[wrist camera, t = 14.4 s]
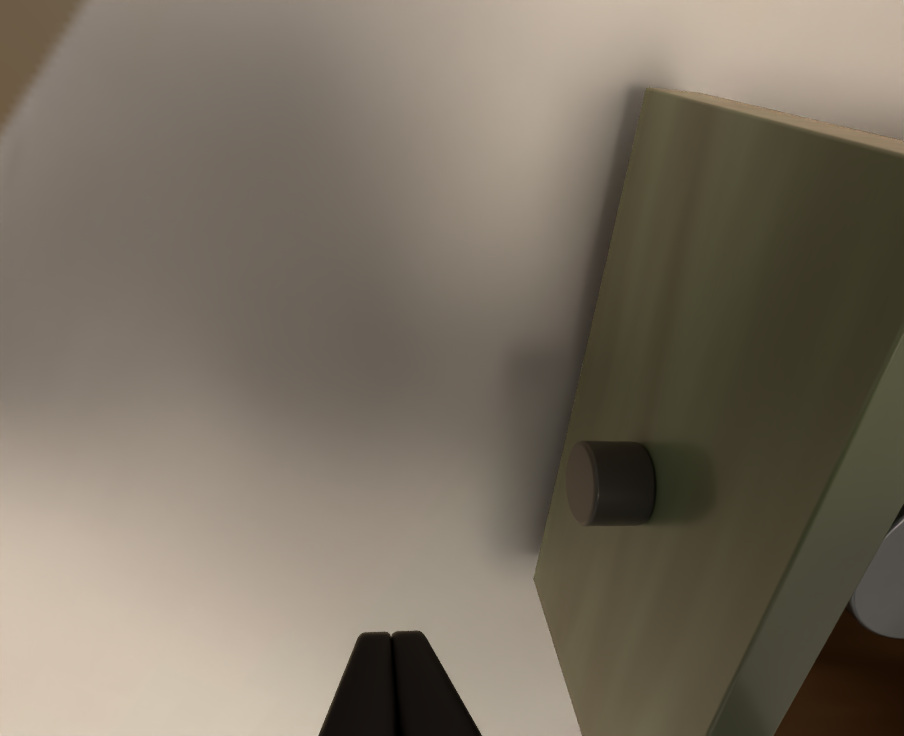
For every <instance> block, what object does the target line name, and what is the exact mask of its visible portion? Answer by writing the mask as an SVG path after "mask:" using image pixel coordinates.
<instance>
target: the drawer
mask: <svg viewBox="0 0 904 736" xmlns="http://www.w3.org/2000/svg"><path fill="white" fill-rule="evenodd" d="M903 504H904V141H902V140H898V139H894V138H889V137H885V136H881V135H877V134H872V133H868V132H864V131H860V130H855V129H851V128H847V127H843V126H838V125H834V124H830V123H826V122H821V121H817V120H813V119H809V118H804V117H800V116H796V115H792V114H787V113H783V112H779V111H775V110H770V109H766V108H762V107H758V106H753V105H749V104H745V103H741V102H736V101H732V100H728V99H724V98H719V97H715V96H711V95H707V94H702V93H696V92H687V91H678V90H669V89H660V88H650V87H649V88H646V90H645V95H644V99H643V103H642V108H641V112H640V116H639V121H638V125H637V129H636V134H635V138H634V142H633V147H632V151H631V156H630V160H629V164H628V169H627V173H626V177H625V182H624V186H623V190H622V195H621V199H620V204H619V208H618V212H617V217H616V221H615V225H614V230H613V234H612V238H611V243H610V247H609V252H608V256H607V260H606V265H605V269H604V273H603V278H602V282H601V286H600V291H599V295H598V300H597V304H596V308H595V313H594V317H593V321H592V326H591V330H590V334H589V339H588V343H587V347H586V352H585V356H584V361H583V365H582V369H581V374H580V378H579V382H578V387H577V391H576V395H575V400H574V404H573V409H572V413H571V417H570V422H569V426H568V430H567V435H566V439H565V443H564V448H563V452H562V457H561V461H560V465H559V470H558V474H557V478H556V483H555V487H554V491H553V496H552V500H551V505H550V509H549V513H548V518H547V522H546V526H545V531H544V535H543V539H542V544H541V548H540V552H539V557H538V561H537V566H536V570H535V574H534V583H535V586H536V589H537V592H538V595H539V599H540V602H541V605H542V608H543V611H544V615H545V618H546V621H547V624H548V627H549V631H550V634H551V637H552V640H553V644H554V647H555V650H556V653H557V656H558V660H559V663H560V666H561V669H562V672H563V676H564V679H565V682H566V685H567V688H568V692H569V695H570V698H571V701H572V705H573V708H574V711H575V714H576V717H577V721H578V724H579V727H580V730H581V733H582V736H904V639H894V638H887V637H884V636H880V635H877V634H875V633H873V632H871V631H869V630H867V629H866V628H864V627H863V626H861V625H860V624H859V623H858V622H857V621H856V620H855V619H854V617H853V616H852V615H851V614H850V613H849V611H848V610H847V609H846V608H845V607H846V606H847V604H848V602H849V600H850V599H851V597H852V595H853V593H854V591H855V590H856V588H857V586H858V584H859V583H860V581H861V579H862V577H863V575H864V574H865V572H866V570H867V568H868V567H869V565H870V563H871V561H872V559H873V558H874V556H875V554H876V552H877V551H878V549H879V547H880V545H881V543H882V542H883V540H884V538H885V536H886V535H887V533H888V531H889V529H890V527H891V526H892V524H893V522H894V520H895V519H896V517H897V515H898V513H899V511H900V510H901V508H902V506H903Z"/></svg>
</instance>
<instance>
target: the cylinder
mask: <svg viewBox="0 0 904 736" xmlns="http://www.w3.org/2000/svg"><path fill="white" fill-rule="evenodd" d="M845 608H846V609H847V610H848V611H849V613H850V614H851V615H852V616H853V617H854V619H855V620H856V621H857V622H858V623H859V624H860V625H861V626H863V627H864V628H866V629H867V630H869V631H871V632H873V633H875V634H877V635H880V636H884V637H887V638H894V639H904V504H903V506H902V508H901V510H900V511H899V513H898V515H897V517H896V519H895V520H894V522H893V524H892V526H891V527H890V529H889V531H888V533H887V535H886V536H885V538H884V540H883V542H882V543H881V545H880V547H879V549H878V551H877V552H876V554H875V556H874V558H873V559H872V561H871V563H870V565H869V567H868V568H867V570H866V572H865V574H864V575H863V577H862V579H861V581H860V583H859V584H858V586H857V588H856V590H855V591H854V593H853V595H852V597H851V599H850V600H849V602H848V604H847V606H846V607H845Z"/></svg>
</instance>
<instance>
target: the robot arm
mask: <svg viewBox="0 0 904 736" xmlns="http://www.w3.org/2000/svg"><path fill="white" fill-rule="evenodd" d="M319 736H482V735H481V733H480V731H479V729H478V728H477V726H476V724H475V722H474V721H473V719H472V717H471V715H470V714H469V712H468V710H467V708H466V707H465V705H464V703H463V701H462V700H461V698H460V696H459V694H458V693H457V691H456V689H455V687H454V686H453V684H452V682H451V680H450V678H449V677H448V675H447V673H446V671H445V670H444V668H443V666H442V664H441V663H440V661H439V659H438V657H437V656H436V654H435V652H434V650H433V649H432V647H431V645H430V643H429V642H428V640H427V638H426V636H425V635H424V634H423V633H422V632H420V631H396V632H394V633H393V634H392V636H390V634H389V633H388V632H364V633H362V634H360V636H359V637H358V639H357V641H356V644H355V646H354V649H353V651H352V654H351V656H350V658H349V661H348V663H347V666H346V668H345V671H344V673H343V676H342V678H341V681H340V683H339V686H338V688H337V691H336V693H335V696H334V698H333V701H332V703H331V706H330V708H329V711H328V713H327V716H326V718H325V721H324V723H323V726H322V728H321V731H320V733H319Z"/></svg>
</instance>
